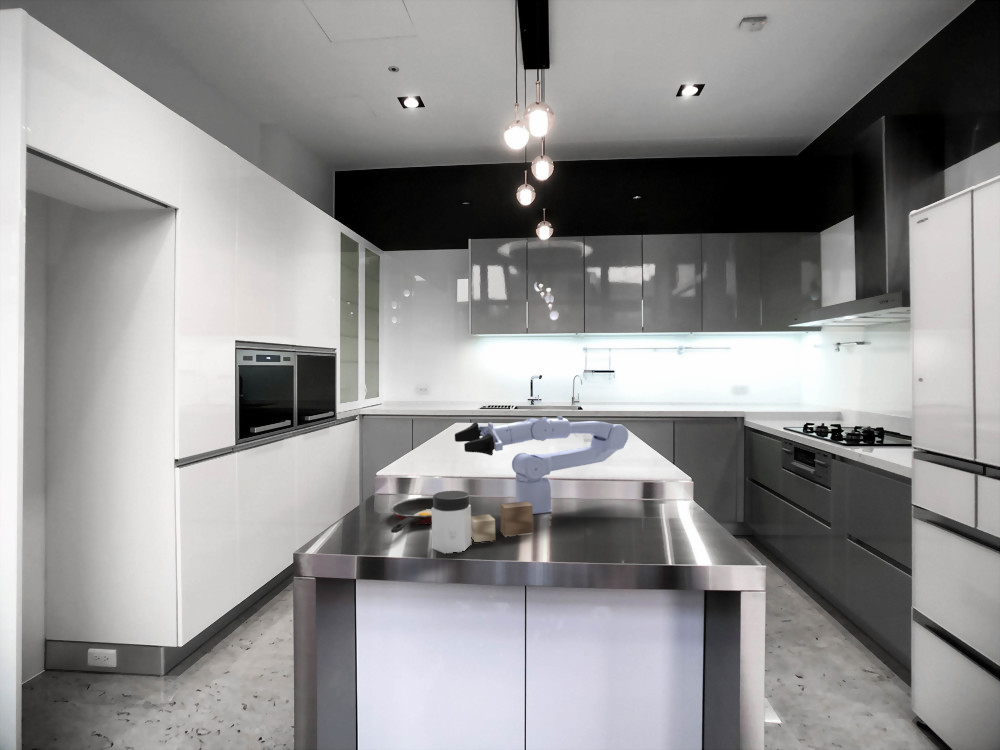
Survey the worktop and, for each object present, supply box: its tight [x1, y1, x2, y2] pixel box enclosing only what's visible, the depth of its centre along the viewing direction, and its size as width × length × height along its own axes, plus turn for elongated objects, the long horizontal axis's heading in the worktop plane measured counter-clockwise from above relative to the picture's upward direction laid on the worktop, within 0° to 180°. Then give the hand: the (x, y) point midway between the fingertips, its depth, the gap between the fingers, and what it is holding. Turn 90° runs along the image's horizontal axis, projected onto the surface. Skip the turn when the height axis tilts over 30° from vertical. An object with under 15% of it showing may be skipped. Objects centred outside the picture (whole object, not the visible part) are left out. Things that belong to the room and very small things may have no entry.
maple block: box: [471, 514, 496, 543], centre depth 127 cm, size 5×5×5 cm
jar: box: [431, 490, 472, 554], centre depth 121 cm, size 9×8×12 cm
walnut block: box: [499, 501, 534, 538], centre depth 131 cm, size 7×4×7 cm, turn 106°
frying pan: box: [389, 496, 433, 534], centre depth 139 cm, size 19×32×4 cm, turn 169°
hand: (459, 442), depth 141 cm, fingers open, 7 cm apart
